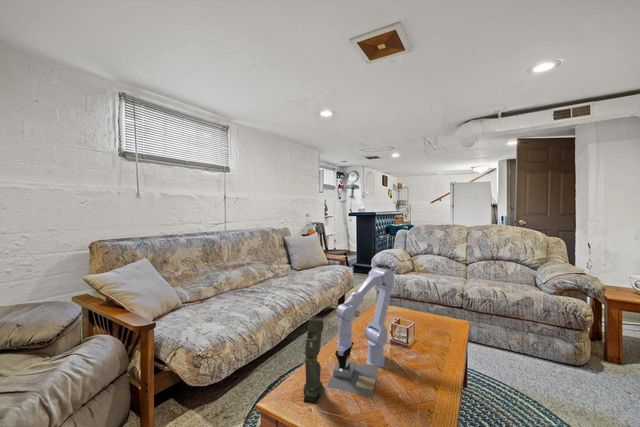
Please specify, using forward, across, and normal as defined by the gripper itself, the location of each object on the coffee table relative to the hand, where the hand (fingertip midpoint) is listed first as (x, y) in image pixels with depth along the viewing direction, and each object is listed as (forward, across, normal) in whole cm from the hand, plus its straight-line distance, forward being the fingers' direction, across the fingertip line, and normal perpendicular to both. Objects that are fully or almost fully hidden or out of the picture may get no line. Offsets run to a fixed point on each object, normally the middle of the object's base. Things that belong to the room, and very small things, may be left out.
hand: (344, 363), depth 119 cm
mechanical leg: (+5, +16, -8) cm, 19 cm away
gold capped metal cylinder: (+4, 0, 0) cm, 4 cm away
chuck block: (+4, 0, 0) cm, 4 cm away
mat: (+5, +1, +4) cm, 7 cm away
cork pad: (+4, +4, +10) cm, 12 cm away
